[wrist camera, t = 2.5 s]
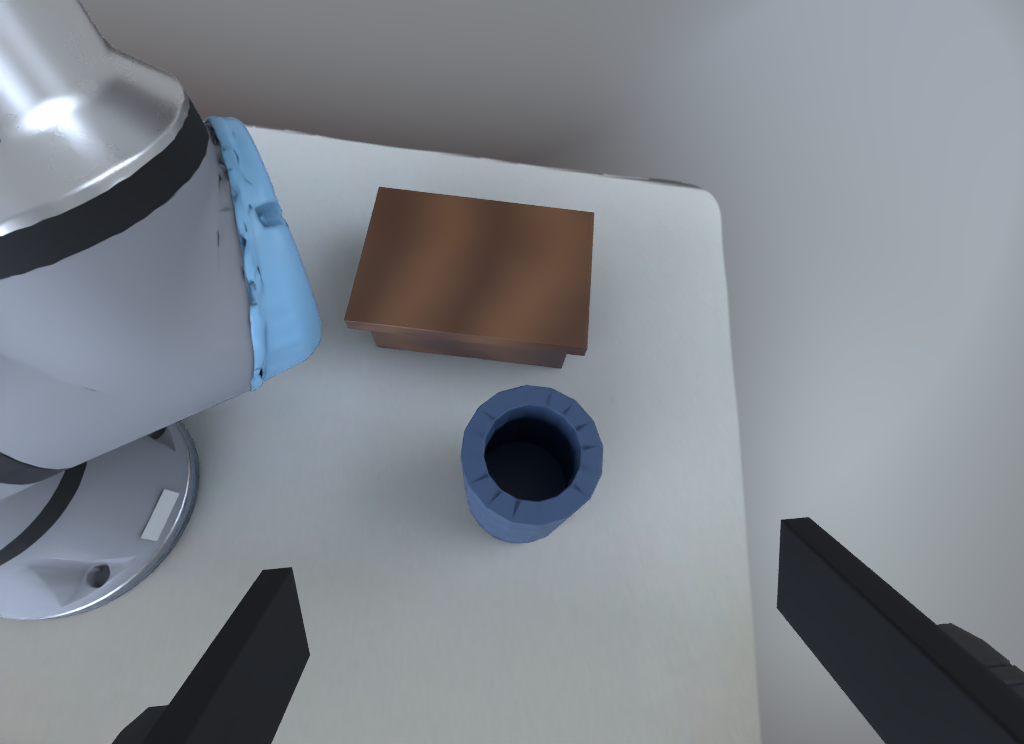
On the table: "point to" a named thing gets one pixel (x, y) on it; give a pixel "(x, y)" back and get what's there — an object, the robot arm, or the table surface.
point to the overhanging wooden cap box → (474, 278)
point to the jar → (529, 462)
